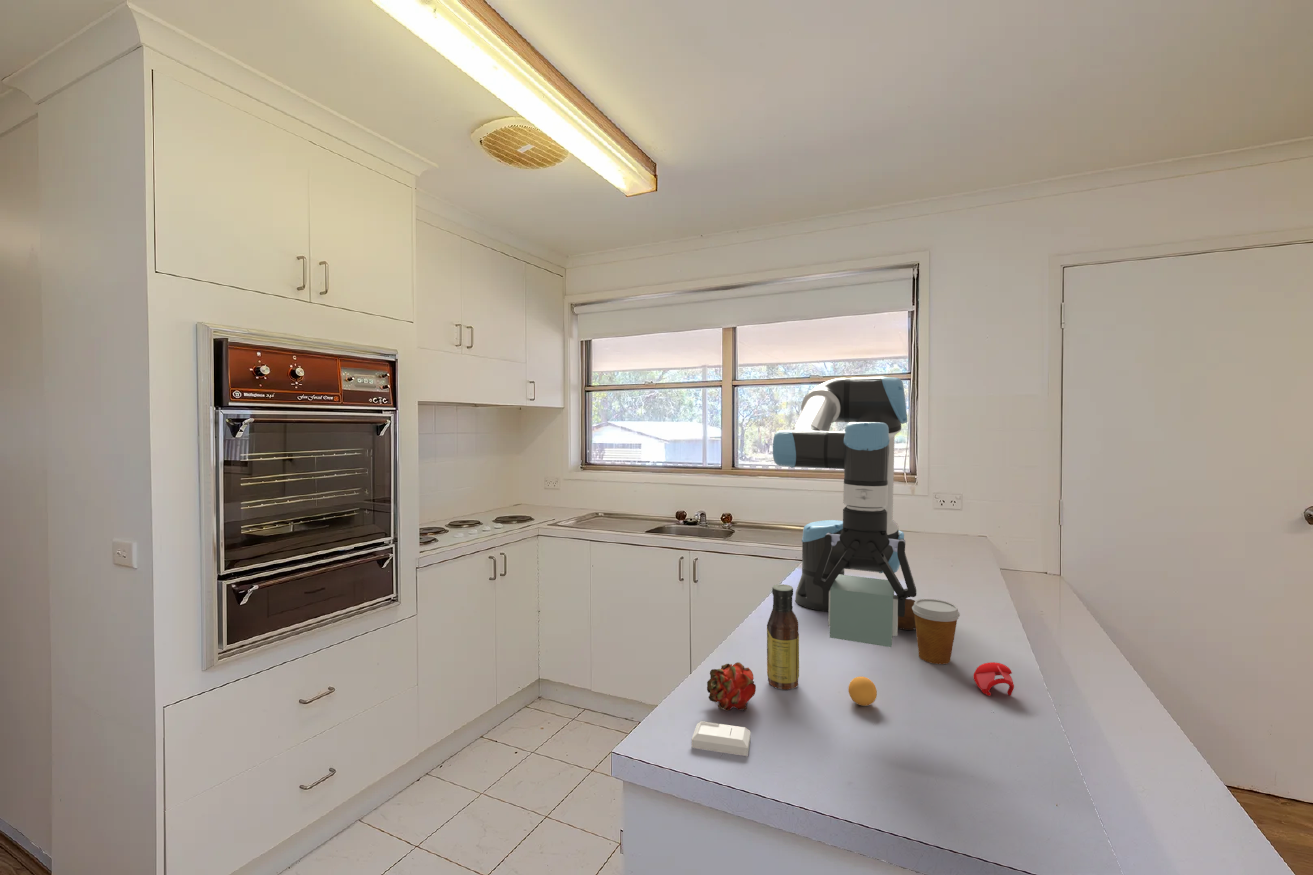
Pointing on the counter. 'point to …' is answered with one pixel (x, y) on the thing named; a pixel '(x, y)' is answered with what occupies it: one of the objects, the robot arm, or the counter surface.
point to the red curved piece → (992, 677)
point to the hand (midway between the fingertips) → (862, 628)
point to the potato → (907, 617)
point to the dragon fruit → (731, 686)
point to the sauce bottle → (782, 640)
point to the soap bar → (721, 738)
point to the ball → (862, 691)
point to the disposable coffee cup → (935, 629)
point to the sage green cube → (862, 610)
